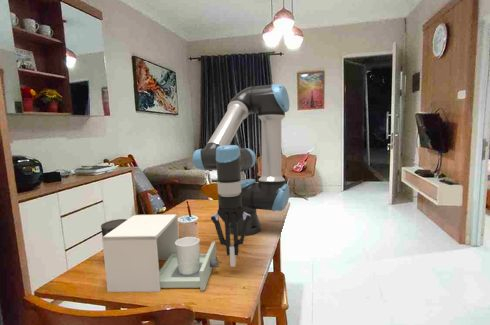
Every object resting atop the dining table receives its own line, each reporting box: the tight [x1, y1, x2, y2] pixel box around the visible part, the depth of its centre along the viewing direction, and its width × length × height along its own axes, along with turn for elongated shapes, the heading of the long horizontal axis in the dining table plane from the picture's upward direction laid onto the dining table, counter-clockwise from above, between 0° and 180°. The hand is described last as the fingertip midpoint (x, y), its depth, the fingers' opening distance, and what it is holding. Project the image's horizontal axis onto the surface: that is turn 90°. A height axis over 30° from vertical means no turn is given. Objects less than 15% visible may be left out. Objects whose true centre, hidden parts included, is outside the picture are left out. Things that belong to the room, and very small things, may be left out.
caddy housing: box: [101, 213, 180, 293], centre depth 101 cm, size 16×23×17 cm
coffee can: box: [100, 218, 129, 238], centre depth 113 cm, size 10×10×14 cm
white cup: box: [175, 236, 201, 275], centre depth 100 cm, size 8×8×10 cm
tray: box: [159, 241, 219, 291], centre depth 101 cm, size 19×23×6 cm
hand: (233, 264), depth 100 cm, fingers closed
